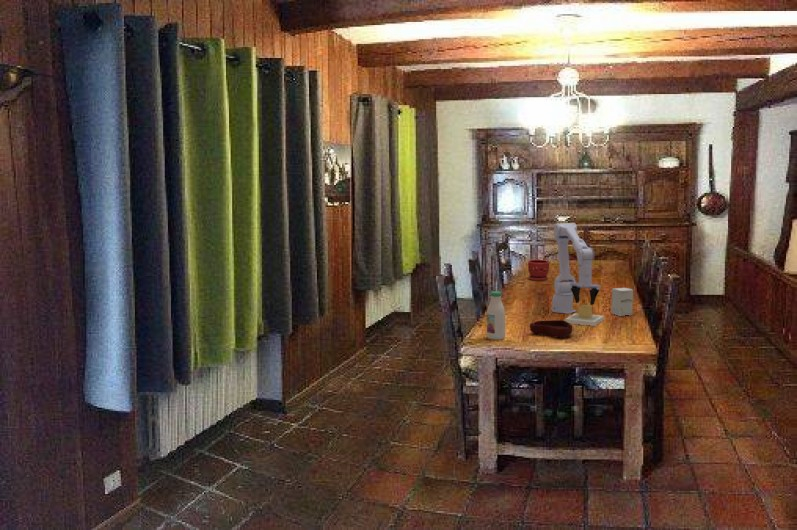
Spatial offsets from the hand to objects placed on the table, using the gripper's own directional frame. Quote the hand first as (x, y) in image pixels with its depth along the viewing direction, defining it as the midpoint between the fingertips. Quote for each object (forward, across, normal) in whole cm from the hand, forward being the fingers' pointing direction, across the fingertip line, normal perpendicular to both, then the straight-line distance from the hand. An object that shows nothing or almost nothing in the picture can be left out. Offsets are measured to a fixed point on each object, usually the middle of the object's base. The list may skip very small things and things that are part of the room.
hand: (584, 303), depth 333 cm
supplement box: (+9, +7, +24) cm, 26 cm away
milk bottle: (+9, -15, -50) cm, 53 cm away
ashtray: (+9, +1, -29) cm, 30 cm away
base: (+9, 0, 0) cm, 9 cm away
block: (+6, 0, 0) cm, 7 cm away
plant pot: (+9, -80, +91) cm, 121 cm away
